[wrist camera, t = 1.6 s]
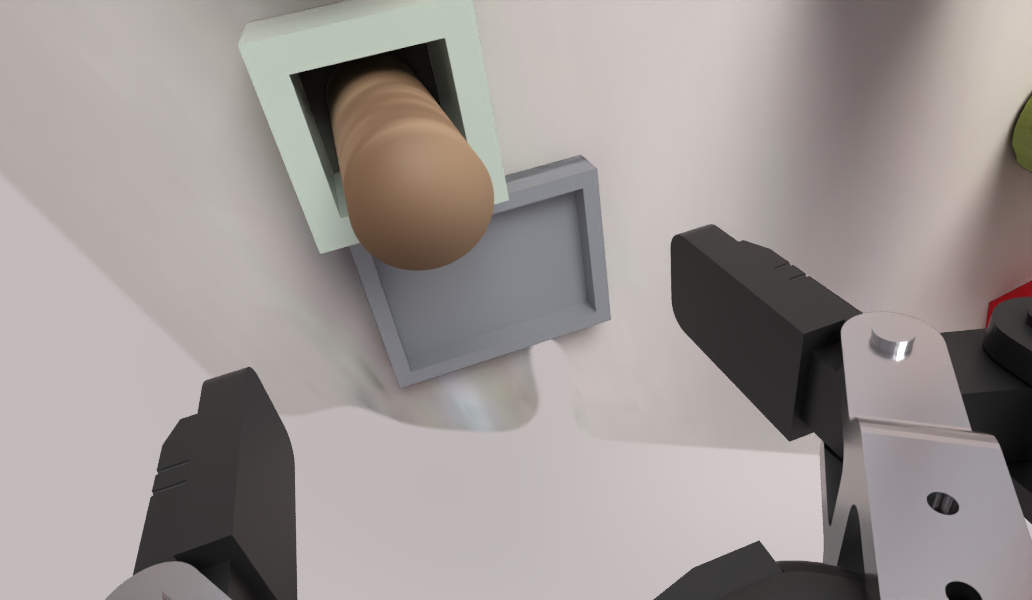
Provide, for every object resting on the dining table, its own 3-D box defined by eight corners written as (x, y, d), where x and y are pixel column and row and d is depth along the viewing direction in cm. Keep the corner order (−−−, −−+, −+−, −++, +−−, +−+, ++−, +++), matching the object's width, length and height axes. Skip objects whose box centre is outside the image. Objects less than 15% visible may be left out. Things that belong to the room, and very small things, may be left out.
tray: (580, 154, 31) (596, 168, 29) (596, 301, 36) (610, 319, 34) (343, 221, 29) (346, 239, 27) (395, 365, 34) (400, 388, 32)
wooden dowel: (408, 39, 26) (479, 115, 16) (431, 132, 28) (505, 247, 18) (312, 62, 25) (326, 155, 15) (343, 155, 27) (372, 287, 18)
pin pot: (441, -21, 25) (471, -8, 21) (479, 160, 29) (509, 200, 25) (246, 22, 24) (237, 45, 20) (315, 205, 28) (320, 254, 24)
